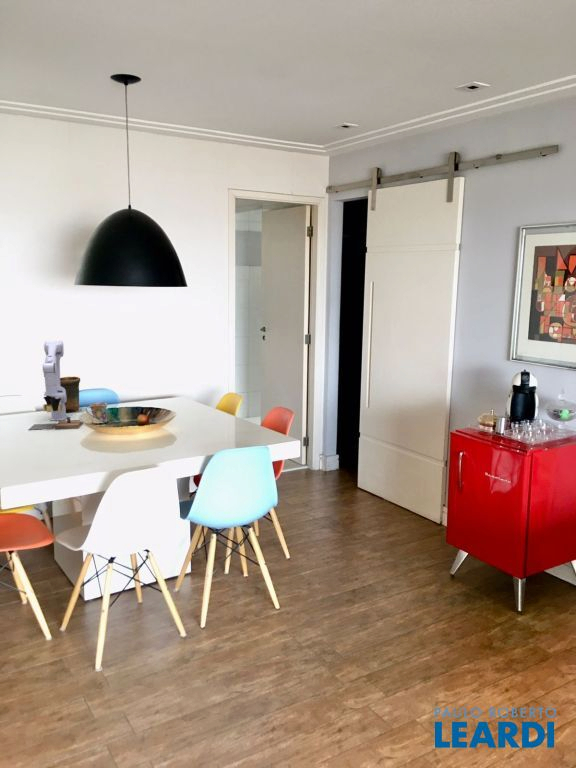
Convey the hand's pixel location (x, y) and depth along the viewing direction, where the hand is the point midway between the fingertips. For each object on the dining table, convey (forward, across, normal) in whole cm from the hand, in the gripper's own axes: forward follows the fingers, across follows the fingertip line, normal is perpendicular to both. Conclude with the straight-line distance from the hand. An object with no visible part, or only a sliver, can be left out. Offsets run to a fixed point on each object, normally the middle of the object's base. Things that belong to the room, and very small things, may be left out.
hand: (53, 410), depth 356 cm
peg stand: (+9, +5, +6) cm, 12 cm away
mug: (+9, +10, +20) cm, 24 cm away
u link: (0, 0, 0) cm, 0 cm away
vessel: (+10, -32, +23) cm, 41 cm away
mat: (+9, -4, -5) cm, 11 cm away
